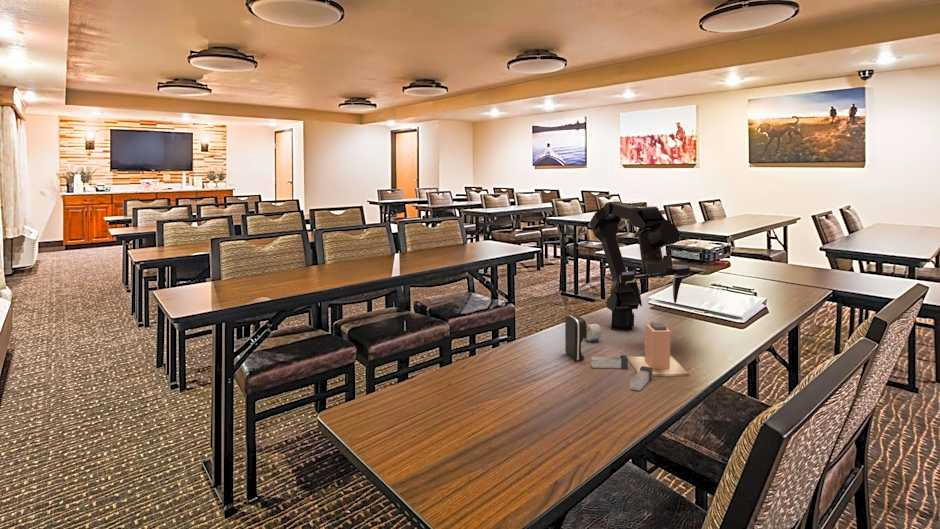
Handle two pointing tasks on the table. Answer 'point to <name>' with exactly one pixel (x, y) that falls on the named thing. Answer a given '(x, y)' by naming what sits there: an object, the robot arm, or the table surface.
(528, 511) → the table surface
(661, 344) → the peach upright block
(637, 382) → the shaft front
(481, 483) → the table surface
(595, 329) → the electric motor
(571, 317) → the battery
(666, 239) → the robot arm
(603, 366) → the shaft side
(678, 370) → the pad
